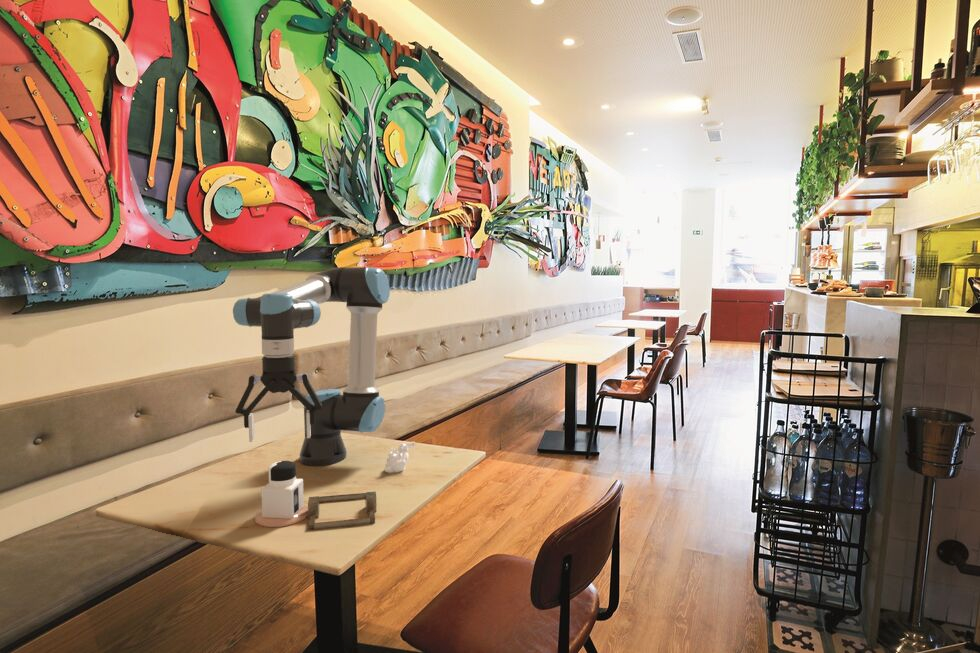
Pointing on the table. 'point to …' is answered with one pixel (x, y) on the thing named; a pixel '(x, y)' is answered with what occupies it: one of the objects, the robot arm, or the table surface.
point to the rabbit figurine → (398, 458)
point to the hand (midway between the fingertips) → (280, 438)
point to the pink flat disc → (281, 522)
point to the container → (282, 491)
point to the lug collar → (314, 513)
